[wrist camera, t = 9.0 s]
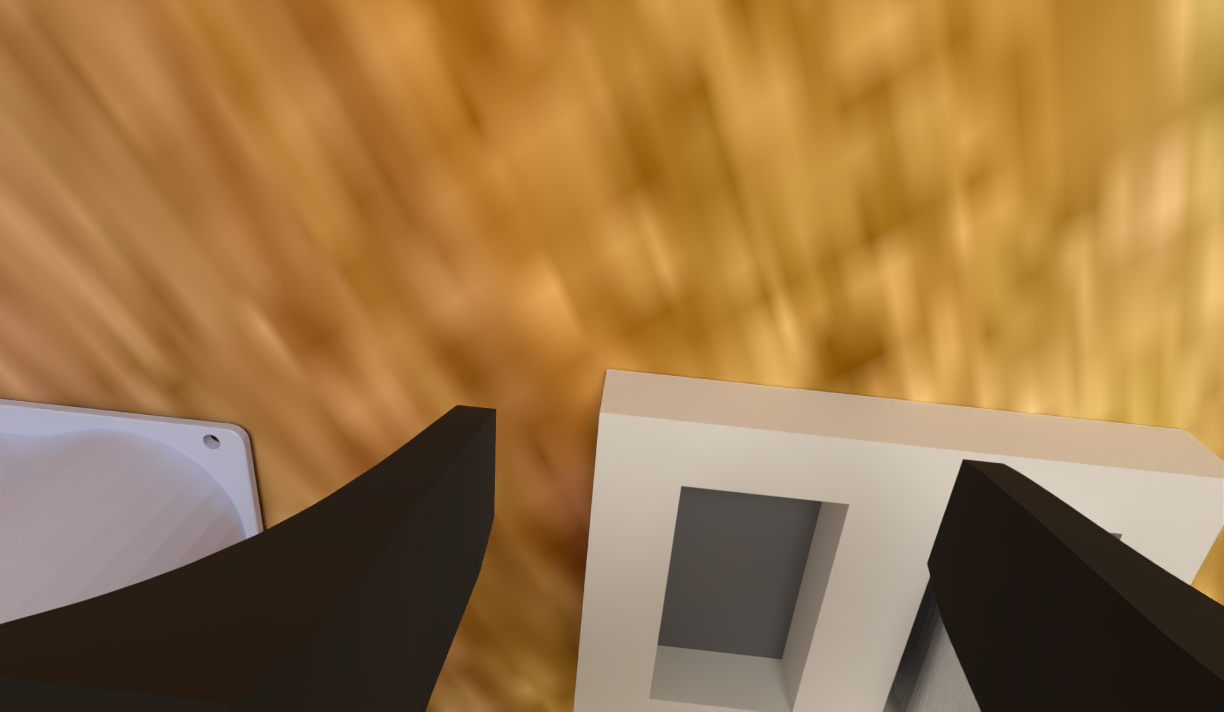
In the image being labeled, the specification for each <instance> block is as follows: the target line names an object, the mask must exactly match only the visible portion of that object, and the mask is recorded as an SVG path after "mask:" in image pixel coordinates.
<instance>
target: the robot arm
mask: <svg viewBox="0 0 1224 712" xmlns="http://www.w3.org/2000/svg"><path fill="white" fill-rule="evenodd" d="M211 435H213V436H215V437H216V438H218V439H219V442H217V441H215V440H214V439H212V437H211ZM495 441H496V409H490V408H481V407H471V406H462V405H457V406H455V407H454V408H453V409H451V410H450V411H448V412H447V413H446V414H444V415H443V416H442V417H441V418H439V419H438V420H437V421H435V422H434V423H433V424H431V425H430V426H429V427H427V428H426V429H425V430H423V431H422V432H421V433H419V434H418V435H417V436H415V437H414V438H413V439H412V440H410V441H409V442H408V443H406V444H405V445H404V446H402V447H401V448H399V449H398V450H397V451H395V452H394V453H393V454H391V455H390V456H388V457H387V458H386V459H384V460H383V461H381V462H380V463H379V464H377V465H376V466H374V467H373V468H371V469H370V470H368V471H367V472H365V473H363V474H362V475H360V476H359V477H357V478H356V479H354V480H353V481H351V482H350V483H348V484H346V485H345V486H343V487H342V488H340V489H339V490H337V491H336V492H334V493H333V494H331V495H329V496H328V497H326V498H324V499H323V500H321V501H319V502H318V503H316V504H314V505H312V506H310V507H309V508H307V509H305V510H303V511H302V512H300V513H298V514H296V515H294V516H292V517H290V518H288V519H286V520H284V521H282V522H280V523H279V524H277V525H275V526H273V527H271V528H269V529H267V530H265V531H263V524H262V518H261V511H260V505H259V498H258V492H257V485H256V479H255V472H254V466H253V459H252V453H251V446H250V439H249V437H248V434H247V433H246V432H245V431H244V429H242V428H241V427H239V426H237V425H234V424H228V423H219V422H210V421H201V420H191V419H182V418H173V417H164V416H154V415H145V414H136V413H127V412H118V411H108V410H99V409H90V408H81V407H71V406H62V405H53V404H44V403H34V402H25V401H16V400H7V399H0V712H425V711H426V708H427V705H428V702H429V700H430V697H431V694H432V692H433V689H434V687H435V684H436V682H437V679H438V677H439V674H440V672H441V669H442V667H443V664H444V662H445V659H446V657H447V654H448V651H449V649H450V646H451V644H452V641H453V639H454V636H455V634H456V631H457V629H458V626H459V624H460V621H461V619H462V616H463V614H464V611H465V609H466V606H467V604H468V601H469V599H470V596H471V593H472V591H473V588H474V586H475V583H476V581H477V578H478V575H479V573H480V570H481V566H482V562H483V558H484V554H485V551H486V547H487V543H488V539H489V535H490V531H491V527H492V523H493V518H494V499H495ZM927 566H928V570H929V574H930V578H931V582H932V586H933V590H934V594H935V598H936V601H937V604H938V608H939V611H940V615H941V618H942V621H943V624H944V627H945V629H946V632H947V634H948V637H949V639H950V641H951V644H952V646H953V648H954V651H955V653H956V655H957V658H958V660H959V662H960V665H961V667H962V669H963V672H964V674H965V676H966V679H967V681H968V683H969V685H970V688H971V690H972V692H973V695H974V697H975V699H976V701H977V704H978V706H979V708H980V710H981V712H1224V606H1223V605H1221V604H1219V603H1218V602H1216V601H1214V600H1213V599H1211V598H1209V597H1208V596H1206V595H1205V594H1203V593H1201V592H1200V591H1198V590H1197V589H1195V588H1193V587H1192V586H1190V585H1189V584H1187V583H1185V582H1184V581H1182V580H1181V579H1179V578H1177V577H1176V576H1174V575H1173V574H1171V573H1169V572H1168V571H1166V570H1165V569H1163V568H1161V567H1160V566H1158V565H1157V564H1155V563H1154V562H1152V561H1151V560H1149V559H1148V558H1146V557H1145V556H1143V555H1142V554H1140V553H1139V552H1137V551H1136V550H1134V549H1133V548H1131V547H1130V546H1128V545H1127V544H1125V543H1124V542H1122V541H1121V540H1119V539H1118V538H1116V537H1115V536H1113V535H1112V534H1110V533H1109V532H1107V531H1106V530H1105V529H1103V528H1102V527H1100V526H1099V525H1097V524H1096V523H1094V522H1093V521H1091V520H1090V519H1089V518H1087V517H1086V516H1084V515H1083V514H1081V513H1080V512H1078V511H1077V510H1075V509H1074V508H1073V507H1071V506H1070V505H1068V504H1067V503H1065V502H1064V501H1062V500H1061V499H1059V498H1058V497H1057V496H1055V495H1054V494H1052V493H1051V492H1049V491H1048V490H1046V489H1045V488H1043V487H1042V486H1040V485H1039V484H1037V483H1036V482H1034V481H1032V480H1031V479H1029V478H1028V477H1026V476H1025V475H1023V474H1021V473H1020V472H1018V471H1016V470H1015V469H1013V468H1011V467H1009V466H1007V465H1005V464H1003V463H995V462H985V461H976V460H967V459H963V460H962V463H961V466H960V469H959V472H958V475H957V478H956V481H955V483H954V486H953V489H952V492H951V495H950V498H949V501H948V504H947V507H946V509H945V512H944V515H943V518H942V521H941V524H940V527H939V530H938V533H937V536H936V538H935V541H934V544H933V547H932V550H931V553H930V556H929V559H928V562H927Z"/></svg>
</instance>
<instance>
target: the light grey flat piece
mask: <svg viewBox="0 0 1224 712" xmlns="http://www.w3.org/2000/svg"><path fill="white" fill-rule="evenodd" d="M963 459H967V460H976V461H985V462H995V463H1003V464H1005V465H1007V466H1009V467H1011V468H1013V469H1015V470H1016V471H1018V472H1020V473H1021V474H1023V475H1025V476H1026V477H1028V478H1029V479H1031V480H1032V481H1034V482H1036V483H1037V484H1039V485H1040V486H1042V487H1043V488H1045V489H1046V490H1048V491H1049V492H1051V493H1052V494H1054V495H1055V496H1057V497H1058V498H1059V499H1061V500H1062V501H1064V502H1065V503H1067V504H1068V505H1070V506H1071V507H1073V508H1074V509H1075V510H1077V511H1078V512H1080V513H1081V514H1083V515H1084V516H1086V517H1087V518H1089V519H1090V520H1091V521H1093V522H1094V523H1096V524H1097V525H1099V526H1100V527H1102V528H1103V529H1105V530H1106V531H1107V532H1109V533H1110V534H1112V535H1113V536H1115V537H1116V538H1118V539H1119V540H1121V541H1122V542H1124V543H1125V544H1127V545H1128V546H1130V547H1131V548H1133V549H1134V550H1136V551H1137V552H1139V553H1140V554H1142V555H1143V556H1145V557H1146V558H1148V559H1149V560H1151V561H1152V562H1154V563H1155V564H1157V565H1158V566H1160V567H1161V568H1163V569H1165V570H1166V571H1168V572H1169V573H1171V574H1173V575H1174V576H1176V577H1177V578H1179V579H1181V580H1182V581H1184V582H1185V583H1187V584H1189V585H1190V584H1191V583H1192V581H1193V579H1194V577H1195V575H1196V574H1197V572H1198V570H1199V568H1200V566H1201V565H1202V563H1203V561H1204V559H1205V557H1206V556H1207V554H1208V552H1209V550H1210V548H1211V547H1212V545H1213V543H1214V541H1215V539H1216V537H1217V536H1218V534H1219V532H1220V530H1221V528H1222V527H1223V525H1224V461H1222V460H1221V459H1220V458H1219V457H1218V456H1216V455H1215V454H1214V453H1213V452H1212V451H1210V450H1209V449H1208V448H1207V447H1206V446H1204V445H1203V444H1202V443H1201V442H1200V441H1198V440H1197V439H1196V438H1195V437H1194V436H1192V435H1191V434H1190V433H1189V432H1188V431H1186V430H1184V429H1174V428H1165V427H1155V426H1146V425H1136V424H1127V423H1117V422H1108V421H1098V420H1089V419H1079V418H1070V417H1060V416H1051V415H1041V414H1032V413H1022V412H1013V411H1003V410H994V409H984V408H975V407H965V406H956V405H946V404H937V403H927V402H918V401H908V400H899V399H889V398H880V397H870V396H861V395H851V394H841V393H832V392H822V391H813V390H803V389H794V388H784V387H775V386H765V385H756V384H746V383H737V382H727V381H718V380H708V379H699V378H689V377H680V376H670V375H661V374H651V373H642V372H632V371H623V370H613V369H607V372H606V378H605V384H604V390H603V396H602V402H601V408H600V416H599V427H598V438H597V450H596V461H595V472H594V484H593V495H592V507H591V518H590V529H589V541H588V552H587V563H586V575H585V586H584V597H583V609H582V620H581V631H580V643H579V654H578V666H577V677H576V688H575V700H574V711H573V712H901V709H900V706H899V702H898V699H897V696H896V693H895V690H894V687H893V684H892V683H893V680H894V677H895V674H896V672H897V669H898V666H899V663H900V660H901V657H902V655H903V652H904V649H905V646H906V643H907V640H908V637H909V635H910V632H911V629H912V626H913V623H914V620H915V618H916V615H917V612H918V609H919V606H920V603H921V601H922V598H923V595H924V592H925V589H926V586H927V583H928V581H929V578H930V574H929V570H928V566H927V562H928V559H929V556H930V553H931V550H932V547H933V544H934V541H935V538H936V536H937V533H938V530H939V527H940V524H941V521H942V518H943V515H944V512H945V509H946V507H947V504H948V501H949V498H950V495H951V492H952V489H953V486H954V483H955V481H956V478H957V475H958V472H959V469H960V466H961V463H962V460H963Z"/></svg>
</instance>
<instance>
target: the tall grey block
mask: <svg viewBox="0 0 1224 712" xmlns="http://www.w3.org/2000/svg"><path fill="white" fill-rule="evenodd" d="M892 684H893V687H894V690H895V693H896V696H897V699H898V702H899V706H900V709H901V712H981V710H980V708H979V706H978V704H977V701H976V699H975V697H974V695H973V692H972V690H971V688H970V685H969V683H968V681H967V679H966V676H965V674H964V672H963V669H962V667H961V665H960V662H959V660H958V658H957V655H956V653H955V651H954V648H953V646H952V644H951V641H950V639H949V637H948V634H947V632H946V629H945V627H944V624H943V621H942V618H941V615H940V611H939V608H938V604H937V601H936V598H935V594H934V590H933V586H932V582H931V578H929V581H928V583H927V586H926V589H925V592H924V595H923V598H922V601H921V603H920V606H919V609H918V612H917V615H916V618H915V620H914V623H913V626H912V629H911V632H910V635H909V637H908V640H907V643H906V646H905V649H904V652H903V655H902V657H901V660H900V663H899V666H898V669H897V672H896V674H895V677H894V680H893V683H892Z"/></svg>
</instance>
